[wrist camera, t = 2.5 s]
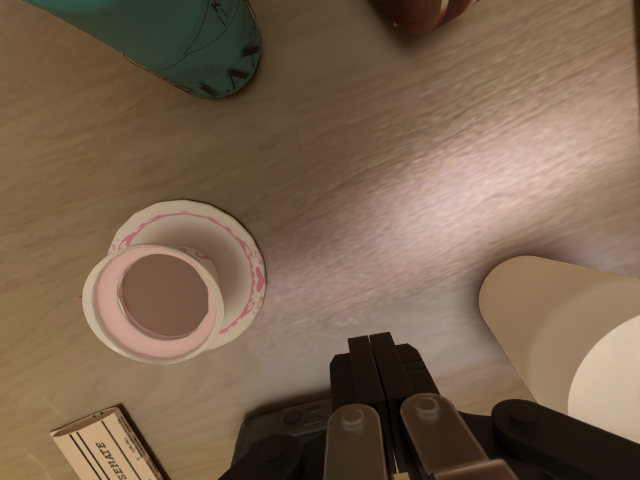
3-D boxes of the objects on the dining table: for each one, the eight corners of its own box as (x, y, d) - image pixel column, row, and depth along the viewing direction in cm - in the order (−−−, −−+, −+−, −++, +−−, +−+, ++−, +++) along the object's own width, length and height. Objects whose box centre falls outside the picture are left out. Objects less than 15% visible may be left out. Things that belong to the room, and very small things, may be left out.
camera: (255, 459, 31) (226, 595, 22) (236, 403, 30) (197, 520, 20) (384, 433, 31) (414, 561, 21) (370, 375, 30) (396, 481, 20)
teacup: (268, 202, 26) (253, 215, 20) (266, 351, 29) (252, 401, 23) (103, 195, 26) (38, 206, 20) (116, 345, 29) (62, 394, 23)
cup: (562, 353, 29) (724, 484, 17) (452, 342, 29) (542, 468, 17) (592, 245, 27) (799, 312, 15) (474, 233, 27) (594, 291, 15)
